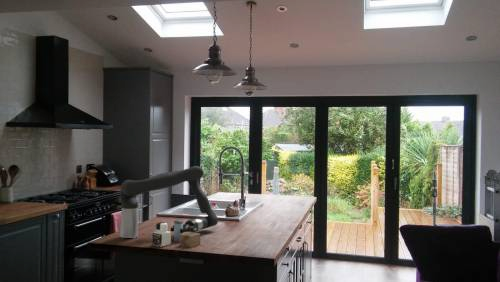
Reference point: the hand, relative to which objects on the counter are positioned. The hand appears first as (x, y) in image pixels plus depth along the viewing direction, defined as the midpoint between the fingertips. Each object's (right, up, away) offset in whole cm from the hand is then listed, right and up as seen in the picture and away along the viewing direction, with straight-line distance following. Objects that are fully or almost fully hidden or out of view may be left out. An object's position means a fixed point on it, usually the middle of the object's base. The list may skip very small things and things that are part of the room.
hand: (175, 230), depth 238 cm
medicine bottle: (-6, -6, -9) cm, 12 cm away
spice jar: (+1, -6, +2) cm, 6 cm away
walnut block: (+9, -6, -8) cm, 14 cm away
